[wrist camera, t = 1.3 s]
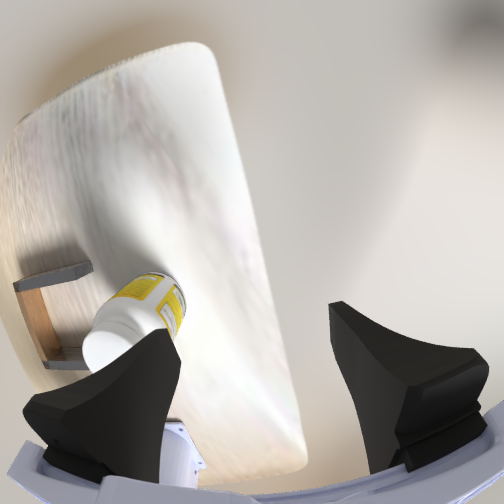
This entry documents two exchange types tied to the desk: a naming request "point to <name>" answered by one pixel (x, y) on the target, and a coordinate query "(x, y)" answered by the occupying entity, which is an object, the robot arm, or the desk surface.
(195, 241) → the desk surface
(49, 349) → the bracket
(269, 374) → the desk surface
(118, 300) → the supplement bottle
